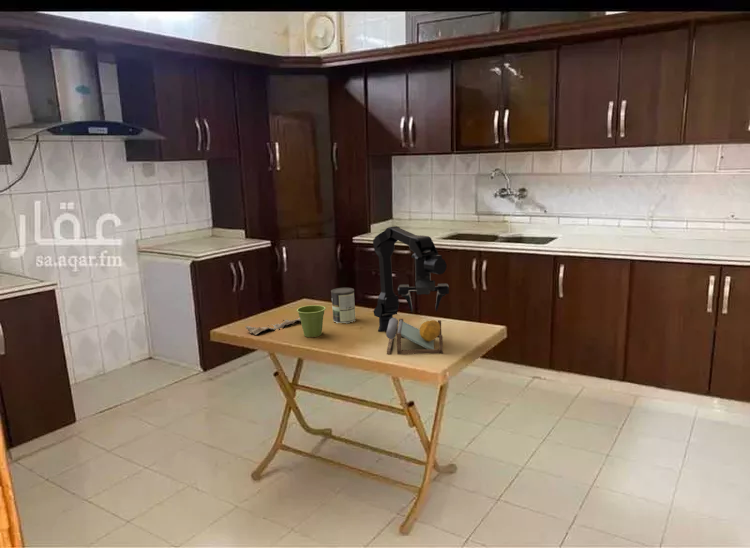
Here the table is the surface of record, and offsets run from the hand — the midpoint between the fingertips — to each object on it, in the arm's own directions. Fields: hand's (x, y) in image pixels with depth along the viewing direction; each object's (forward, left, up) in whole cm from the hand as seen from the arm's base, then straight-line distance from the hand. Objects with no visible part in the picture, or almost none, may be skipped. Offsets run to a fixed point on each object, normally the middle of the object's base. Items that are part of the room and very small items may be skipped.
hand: (423, 311), depth 205 cm
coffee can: (-35, -36, -13) cm, 52 cm away
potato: (+1, 0, -11) cm, 11 cm away
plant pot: (-14, -46, -13) cm, 50 cm away
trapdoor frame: (+1, -4, -13) cm, 13 cm away
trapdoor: (+1, -6, -11) cm, 13 cm away
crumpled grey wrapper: (-30, -63, -13) cm, 71 cm away
